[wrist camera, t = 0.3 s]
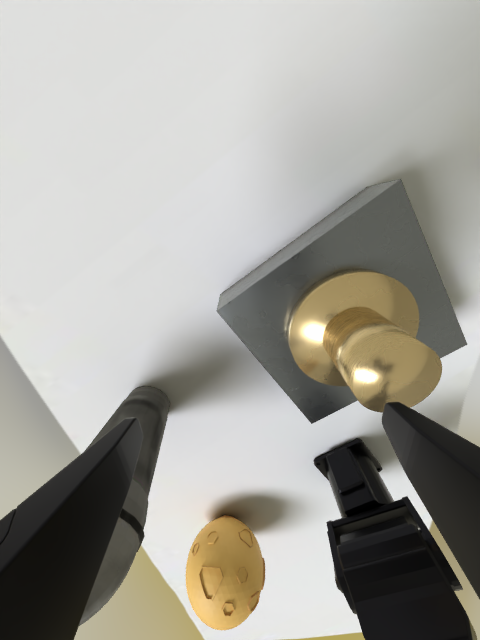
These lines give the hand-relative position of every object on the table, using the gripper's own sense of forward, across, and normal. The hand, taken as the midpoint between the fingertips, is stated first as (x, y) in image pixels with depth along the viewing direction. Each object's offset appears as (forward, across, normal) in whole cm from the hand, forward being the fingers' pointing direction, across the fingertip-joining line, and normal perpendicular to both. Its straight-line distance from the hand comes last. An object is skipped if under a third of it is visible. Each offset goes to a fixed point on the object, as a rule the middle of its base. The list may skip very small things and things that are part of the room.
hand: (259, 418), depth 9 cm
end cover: (+12, -7, +1) cm, 14 cm away
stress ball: (+14, +5, +34) cm, 37 cm away
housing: (+14, -7, +1) cm, 16 cm away
